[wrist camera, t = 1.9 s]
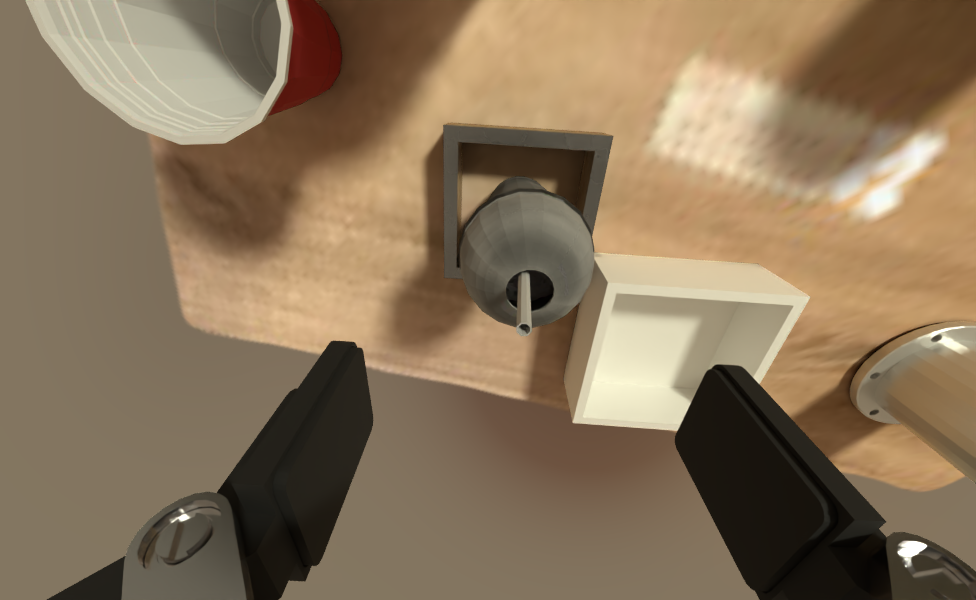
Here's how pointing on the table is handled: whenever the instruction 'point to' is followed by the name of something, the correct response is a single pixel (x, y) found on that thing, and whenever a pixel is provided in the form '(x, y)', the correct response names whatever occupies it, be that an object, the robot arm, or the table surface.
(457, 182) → the holder
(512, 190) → the beverage cup
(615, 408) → the bin
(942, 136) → the table surface
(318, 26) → the plastic cup
